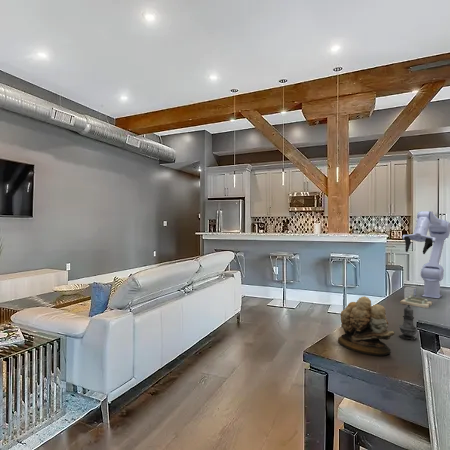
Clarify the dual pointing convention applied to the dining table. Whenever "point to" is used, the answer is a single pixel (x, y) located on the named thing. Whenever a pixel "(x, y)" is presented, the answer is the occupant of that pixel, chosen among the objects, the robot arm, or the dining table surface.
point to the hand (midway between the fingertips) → (414, 251)
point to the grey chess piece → (408, 324)
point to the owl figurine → (365, 328)
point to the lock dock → (416, 302)
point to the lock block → (409, 292)
